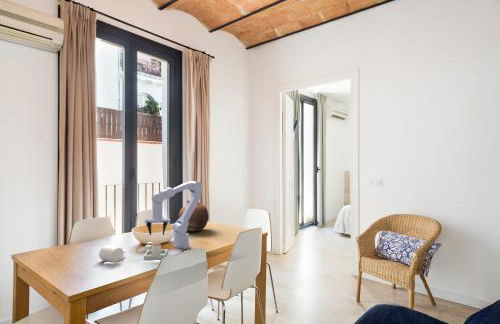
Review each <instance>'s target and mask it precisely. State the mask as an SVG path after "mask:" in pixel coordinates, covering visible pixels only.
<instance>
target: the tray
mask: <svg viewBox="0 0 500 324" xmlns="http://www.w3.org/2000/svg"><path fill="white" fill-rule="evenodd" d="M168 251H169V250H168V248H163V249H162V248H161V253H164V254H161V255H152V250H147V252H144V254H143V259H144V260H153V259H164V258H163V257H167V254H168ZM149 253H150V254H151V255H148V254H149Z"/></svg>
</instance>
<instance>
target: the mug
mask: <svg viewBox="0 0 500 324" xmlns="http://www.w3.org/2000/svg"><path fill="white" fill-rule="evenodd" d="M125 253H126V249H125V248H121V247H116V246H113V245H107V244H106V245H104V246H102V247H101V248H100V250H99V253H98V256H99V259H100V260H101V261H106V262H110V263H114V264H117V263H120V260H121V261H122V259H123V258H124V254H125Z"/></svg>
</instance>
